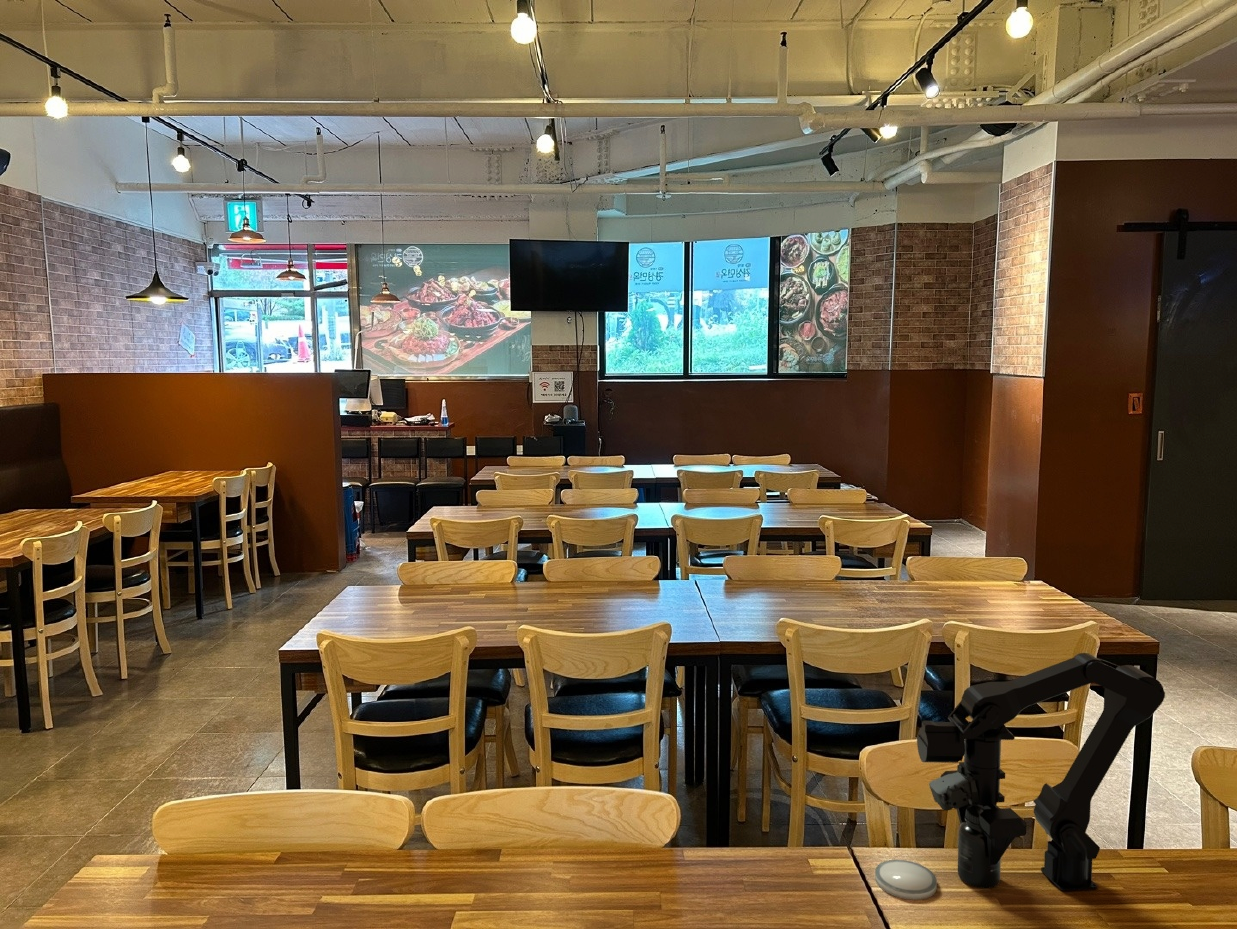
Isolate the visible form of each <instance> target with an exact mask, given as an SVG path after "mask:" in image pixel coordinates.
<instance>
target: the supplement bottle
mask: <svg viewBox="0 0 1237 929" xmlns="http://www.w3.org/2000/svg"><path fill="white" fill-rule="evenodd" d="M982 812H983V810H982V809H981V808H980V807H979V806H975V805H974V806H969V807H967V808H966V815H965V821H964V822H963V823H962V824H960V825H959V827H958V844H957V846H958V847H957V848H958V849H957V874H958V877H959V878H960V880H962V881H963V882H964V883H965V884H968V885H970V886H972V887H975V888H978V889H979V888H980V889H992V888H995V887H997V886H998V885H999V883H1000V881H1001V869H1002V867H1001V865H1002V863H1001V862H1002V858H1001V859H1000V860H999V862H998V863H997V864H996V865H991V864H990V862H989V856H988V845H987V836H986V835H985V834H984V833H983V831H982V830H981V829H980V828H979V827H981V825H980V821H979V815H980V814H981V813H982Z"/></svg>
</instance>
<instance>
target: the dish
mask: <svg viewBox="0 0 1237 929" xmlns="http://www.w3.org/2000/svg"><path fill="white" fill-rule="evenodd" d="M874 879H875V883H876V884H877V886H878V887H879V888H880V889H882V890H883V891H884V892H885V893H887V894H890V895H892V896H894V897H897V898H900V899H905V900H915V901H916V900H925V899H928V898H930V897H932V896H933V895H935V893H936V892H937V884H938V883H937V881H938V880H937V877H936V875H935V873H933V871H932V870H931V869H929V868H927V867H926V866H924V865H922V864H920V863H917V862H915V861H910V860H905V859H890V860H885V861H882V862H880V863H878V865H877V866H876V867H875V872H874Z"/></svg>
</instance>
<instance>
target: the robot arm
mask: <svg viewBox="0 0 1237 929" xmlns="http://www.w3.org/2000/svg"><path fill="white" fill-rule="evenodd" d="M1090 684H1096V685H1099V686H1101V687H1103V688H1104V692H1103V709H1102V712H1101V713H1100V716H1099V717H1098V718H1097V721H1096V723H1095V724H1094V727H1093V728H1092V730H1091V731H1090V734H1088V736H1087V738H1086V740H1085V741H1084V743H1083V745H1082V747H1081V749H1080V751H1079V752H1078V753H1077V755H1076V758H1075V759H1074V760H1073V762H1072V764H1071V766H1070V768H1069V770H1068V771H1067V772H1066V774H1065V776H1064V779H1062V781H1060V782H1059V783H1058V784H1056V785H1054V786H1052V785H1050V784H1048V783H1044V785H1042V787H1041V790H1040V793H1039V794H1038V796H1037V797H1036V798H1035V799H1033V801H1032V802H1033V803H1034V808H1033V814H1034V818H1035V820H1036V822H1037V823H1038V825H1040V827H1041V828H1042V829H1043V830H1044V832H1045V834H1046V835H1048V836H1049V838H1051V840H1048V841H1047V842H1046V843H1047V844H1046V847H1047V848H1046V850H1045V851H1044V864H1043V865H1044V866H1042V867H1040V871H1041V872H1042V873H1043V874H1044V875H1045V876H1046V877H1047V878H1048V879H1049V880H1050V881H1051V882H1052V883H1053V884H1054V885H1055V886H1056V887H1057V888H1058V889H1059V890H1060V891H1062V892H1068V891H1070V892H1071V891H1085V890H1086V891H1088V890H1090V891H1091V890H1098V884H1096V883H1095V882H1094V881H1093V860H1095V859H1097V858H1098V855H1099V852H1100V850H1101V847H1100V846H1099V844H1097V842H1095V840H1093V838H1092V837H1091V836H1089V834H1088V833H1087V829H1088V828H1089V824H1090V820H1091V804H1092V803H1091V802H1092V800H1093V797H1094V796H1095V793H1096V792H1097V790H1098V789H1099V787H1100V785H1101V784H1102V781H1103V780H1104V778H1105V776H1106V775H1107V773H1108V771H1109V770H1110V768H1111V766H1112V765H1113V763H1114V761H1115V759H1116V758H1117V756H1118V754H1119V753H1120V752H1121V749H1122V748H1123V746H1124V744H1125V743H1126V740H1127V738H1128V737H1129V736H1130V734H1131V732H1132V730H1133V729H1134V727H1136V726H1138V725H1139V724H1141V723H1144V722H1145V721H1146V720H1148V719H1150V718H1151V717H1152V716H1153V714H1154V713H1155V712H1156V711H1157V710H1158V709H1159V708H1160V706H1161V705H1162V704H1163V702H1164V701H1165V698H1166V692H1165V690H1164V687H1163V684H1162V683H1161V682H1160V680H1158V679H1156V678H1155V677H1154V676H1152V675H1150V674H1148V673H1147V672H1145V671H1143V670H1141V669H1140V668H1138V667H1136V666H1134V665H1130V664H1124V665H1121V666H1120V665H1117V664H1115V663H1112V662H1110V661H1107V660H1104V659H1102V658H1098V657H1096V656H1094V655H1092V654H1090V653H1088V652H1080V653H1077V654H1075V655H1074V657H1072V658H1068V659H1066V660H1063V661H1061V662H1058V663H1056V664H1052V665H1050V666H1047V667H1044V668H1042V669H1039V670H1037V671H1034V672H1031V673H1029V674H1026V675H1023V676H1021V677H1018V678H1015V679H1012V680H1007V681H989V682H983V683H977V684H973V685H971V686H968V687H967V688H966V689H965V690H964V691H963V694H962V697H961V700H960V702H959V703H958V704H957V705H956V706H955V708H954V709H953V710H952V711H951V713H949V714H948V716H947V719H948V720H949V721H932V720H922V721H921V727H919V730H918V734H917V735H916V745H917V747H916V748H917V751H918V756H919V759H920V761H921V762H922V763H939V764H940V763H941V764H942V763H944V764H947V763H948V764H949V763H950V764H951V763H952V764H953V763H954V764H955V763H957V766H956V768H957V770H945V771H944V772H942V774H941V775H940V777H938V778H936V779H933V780H931V781H930V782H929V783H928V786H929V789H930V792H931V795H932V797H933V800H934V802H935V803H936V804H938V806H939V807H940V808H941V809H942V810H943V811H947V812H948V811H950V810H953V809H955V810H956V812H957V815H958V816H957V817H958V819H959V824H960V825H961V824H962V823H963V822H964V821H965V815H966V808H967V807H969V806H974V805H975V806H979V807H980V808H981V809H982V810H983V812H982V813H981V814H980V815H979V821H980V825H981V827H979V828H980V829H981V830H982V831H983V833H984V834H985V835H986V836H987V845H988V856H989V862H990V864H991V865H996V864H997V863H998V862H999V860H1000V859H1001V860H1002V858H1003V855H1004V854H1005V853H1006V851H1007V849H1008V848H1009V846H1010V845H1011V844H1012V843H1013V841H1015V839H1016V838H1019V837H1025V836H1026V835H1027V822H1026V821H1025V820H1024V819H1023V818H1022V817H1021V816H1020V815H1019V814H1018V813H1017V812H1015V811H1014V809H1012V808H1011V807H999V806H998V805H997V804H998V803H1005V802H1006V800H1005V798H1006V797H1005V795H1004V794H1003V793H1001V792H1000V789H1001V787H1000V783H1001V780H1006V772H1005V771H1004V770H1003V769H1001V758H1002V757H1001V755H1002V754H1001V752H1002V741H1013V740H1015V738H1016V736H1015V735H1014V734H1013V733H1012V732H1011V731H1009V729H1008V728H1007V727H1006V724H1007V723H1010V722H1011V721H1012V720H1014V719H1015V718H1017V716H1018V715H1019V714H1020V713H1021V712H1022V711H1024V709H1027V708H1028V707H1030V706H1033V705H1036V704H1039V703H1042V702H1044V701H1047V700H1049V699H1052V698H1055V697H1057V696H1060V695H1063V694H1066V693H1068V692H1071V691H1073V690H1076V689H1079V688H1082V687H1085V686H1087V685H1090ZM969 717H970V718H971V721H970V722H969V721H968V719H967V718H969Z"/></svg>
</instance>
